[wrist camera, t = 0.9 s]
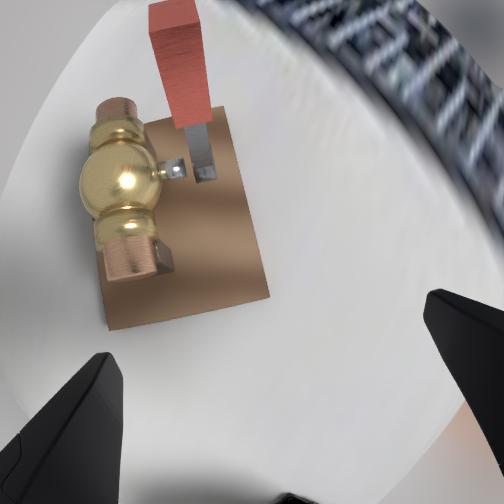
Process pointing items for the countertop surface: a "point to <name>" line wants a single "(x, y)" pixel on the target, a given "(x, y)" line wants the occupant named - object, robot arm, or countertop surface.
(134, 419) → the countertop surface
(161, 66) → the valve lever
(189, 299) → the mounting board
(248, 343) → the countertop surface
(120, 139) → the valve body
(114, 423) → the robot arm
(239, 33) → the countertop surface
